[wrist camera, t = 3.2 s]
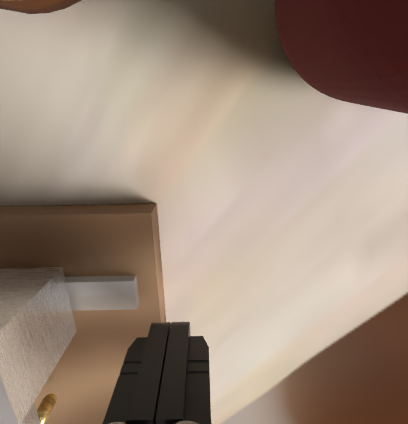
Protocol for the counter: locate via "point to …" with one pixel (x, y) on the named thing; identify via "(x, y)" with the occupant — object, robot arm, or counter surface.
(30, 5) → the food container
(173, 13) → the counter surface
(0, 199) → the counter surface
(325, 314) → the counter surface
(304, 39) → the mug
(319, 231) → the counter surface
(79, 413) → the hole board
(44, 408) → the leg
